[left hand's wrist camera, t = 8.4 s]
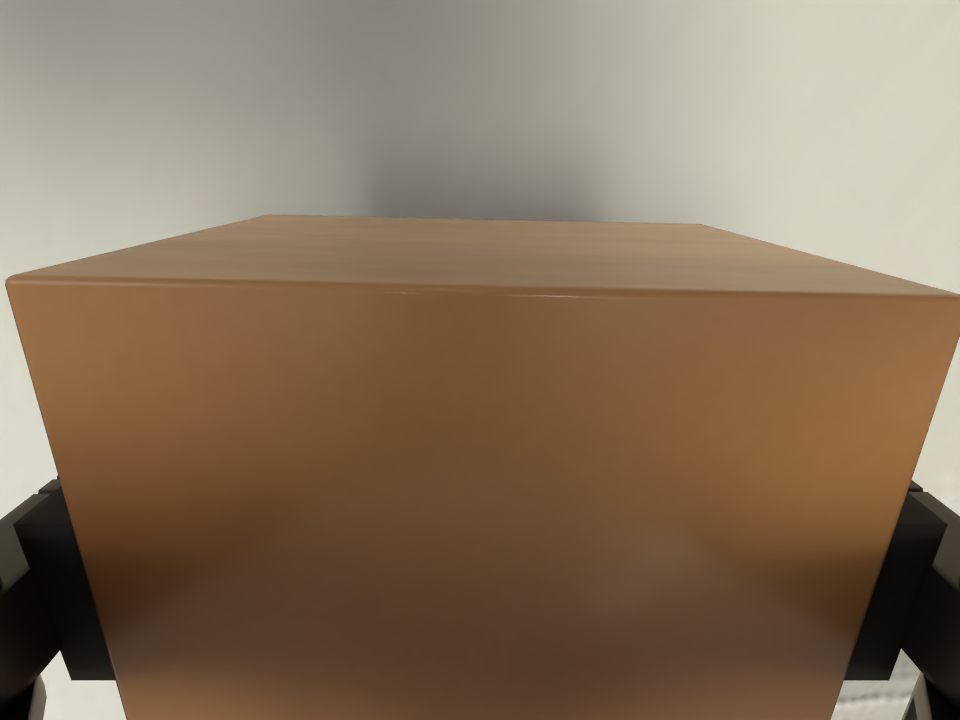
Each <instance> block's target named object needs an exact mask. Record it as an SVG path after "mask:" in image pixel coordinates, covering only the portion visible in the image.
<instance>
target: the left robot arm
mask: <svg viewBox="0 0 960 720" xmlns="http://www.w3.org/2000/svg"><path fill="white" fill-rule="evenodd" d="M901 648H902V649H903V651H904V652H905V653H906V654H907V655H908V657H909V658H910V659H911V660H912V661H913V662H914V664H915V665H916V666H917V667H918V668H919V670H920V671H921V673H920V675H919V678H918V680H917V683H916V685H915V688H914V690H913V693H912V695H911V698H910V700H909V703H908V705H907V708H906V710H905V713H904V715H903V718H902V720H960V516H958V515H957V514H956V513H954V512H953V511H952V510H950V509H949V508H948V507H946V506H945V505H944V504H943V503H941V502H940V501H939V500H937V499H936V498H935V497H933V496H932V495H931V494H929V493H928V492H923V488H922V487H920V486H919V485H918V484H916V483H915V482H914V481H912V480H911V482H910V485H909V488H908V491H907V494H906V497H905V500H904V503H903V506H902V509H901V512H900V515H899V518H898V521H897V524H896V527H895V530H894V533H893V536H892V539H891V542H890V544H889V547H888V550H887V553H886V556H885V559H884V562H883V565H882V568H881V571H880V574H879V577H878V580H877V583H876V586H875V589H874V592H873V595H872V598H871V601H870V604H869V607H868V610H867V613H866V616H865V619H864V622H863V625H862V628H861V630H860V633H859V636H858V639H857V642H856V645H855V648H854V651H853V654H852V657H851V660H850V663H849V666H848V669H847V672H846V675H845V678H844V680H889V679H890V676H891V674H892V671H893V668H894V666H895V663H896V660H897V658H898V655H899V652H900V650H901ZM59 651H61V654H62V656H63V659H64V662H65V664H66V667H67V670H68V672H69V675H70V677H71V680H115V676H114V672H113V669H112V665H111V662H110V658H109V654H108V651H107V647H106V644H105V640H104V637H103V633H102V629H101V626H100V622H99V619H98V615H97V612H96V608H95V604H94V601H93V597H92V594H91V590H90V587H89V583H88V579H87V576H86V572H85V569H84V565H83V562H82V558H81V554H80V551H79V547H78V544H77V540H76V536H75V533H74V529H73V526H72V522H71V519H70V515H69V511H68V508H67V504H66V501H65V497H64V494H63V490H62V486H61V483H60V479H59V476H57V480H51V481H50V482H49V483H48V484H46V485H45V486H44V487H42V488H41V489H40V490H39V493H38V494H33V495H32V496H31V497H29V498H28V499H27V500H25V501H24V502H23V503H22V504H20V505H19V506H18V507H16V508H15V509H14V510H13V511H11V512H10V513H9V514H7V515H6V516H5V517H3V518H2V519H1V520H0V720H43V716H44V710H45V703H46V691H45V685H44V683H43V680H42V678H41V675H40V673H41V672H42V671H43V670H44V669H45V667H46V666H47V665H48V664H49V663H50V661H51V660H52V659H53V658H54V657H55V655H56V654H57V653H58V652H59Z"/></svg>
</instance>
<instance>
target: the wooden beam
mask: <svg viewBox="0 0 960 720" xmlns="http://www.w3.org/2000/svg"><path fill="white" fill-rule="evenodd" d="M5 286H6V290H7V293H8V297H9V300H10V304H11V308H12V311H13V315H14V318H15V322H16V326H17V329H18V333H19V336H20V340H21V343H22V347H23V351H24V354H25V358H26V361H27V365H28V368H29V372H30V376H31V379H32V383H33V386H34V390H35V393H36V397H37V401H38V404H39V408H40V411H41V415H42V418H43V422H44V426H45V429H46V433H47V436H48V440H49V444H50V447H51V451H52V454H53V458H54V461H55V465H56V469H57V472H58V476H59V479H60V483H61V486H62V490H63V494H64V497H65V501H66V504H67V508H68V511H69V515H70V519H71V522H72V526H73V529H74V533H75V536H76V540H77V544H78V547H79V551H80V554H81V558H82V562H83V565H84V569H85V572H86V576H87V579H88V583H89V587H90V590H91V594H92V597H93V601H94V604H95V608H96V612H97V615H98V619H99V622H100V626H101V629H102V633H103V637H104V640H105V644H106V647H107V651H108V654H109V658H110V662H111V665H112V669H113V672H114V676H115V680H116V683H117V687H118V690H119V694H120V697H121V701H122V705H123V708H124V712H125V715H126V719H127V720H830V719H831V717H832V714H833V711H834V708H835V705H836V702H837V699H838V696H839V693H840V690H841V687H842V684H843V681H844V678H845V675H846V672H847V669H848V666H849V663H850V660H851V657H852V654H853V651H854V648H855V645H856V642H857V639H858V636H859V633H860V630H861V628H862V625H863V622H864V619H865V616H866V613H867V610H868V607H869V604H870V601H871V598H872V595H873V592H874V589H875V586H876V583H877V580H878V577H879V574H880V571H881V568H882V565H883V562H884V559H885V556H886V553H887V550H888V547H889V544H890V542H891V539H892V536H893V533H894V530H895V527H896V524H897V521H898V518H899V515H900V512H901V509H902V506H903V503H904V500H905V497H906V494H907V491H908V488H909V485H910V482H911V479H912V476H913V473H914V470H915V467H916V464H917V461H918V458H919V455H920V453H921V450H922V447H923V444H924V441H925V438H926V435H927V432H928V429H929V426H930V423H931V420H932V417H933V414H934V411H935V408H936V405H937V402H938V399H939V396H940V393H941V390H942V387H943V384H944V381H945V378H946V375H947V372H948V369H949V367H950V364H951V361H952V358H953V355H954V352H955V349H956V346H957V343H958V340H959V337H960V294H956V293H952V292H949V291H945V290H941V289H938V288H934V287H930V286H927V285H923V284H919V283H916V282H912V281H908V280H905V279H901V278H897V277H893V276H890V275H886V274H882V273H879V272H875V271H871V270H868V269H864V268H860V267H857V266H853V265H849V264H846V263H842V262H838V261H835V260H831V259H827V258H824V257H820V256H816V255H812V254H809V253H805V252H801V251H798V250H794V249H790V248H787V247H783V246H779V245H776V244H772V243H768V242H765V241H761V240H757V239H754V238H750V237H746V236H743V235H739V234H735V233H731V232H728V231H724V230H720V229H717V228H713V227H709V226H706V225H702V224H669V223H624V222H579V221H533V220H488V219H443V218H398V217H353V216H307V215H264V216H260V217H256V218H252V219H247V220H243V221H239V222H235V223H231V224H226V225H222V226H218V227H214V228H210V229H205V230H201V231H197V232H193V233H188V234H184V235H180V236H176V237H172V238H167V239H163V240H159V241H155V242H150V243H146V244H142V245H138V246H134V247H129V248H125V249H121V250H117V251H113V252H108V253H104V254H100V255H96V256H91V257H87V258H83V259H79V260H75V261H70V262H66V263H62V264H58V265H54V266H49V267H45V268H41V269H37V270H32V271H28V272H24V273H20V274H16V275H13V276H11V277H8V278H7V279H6V283H5Z"/></svg>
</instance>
